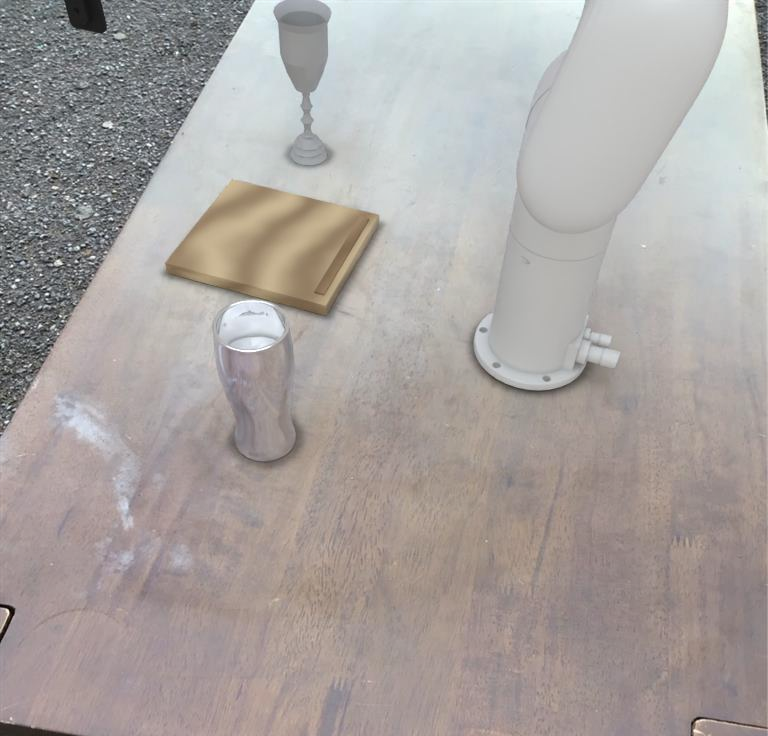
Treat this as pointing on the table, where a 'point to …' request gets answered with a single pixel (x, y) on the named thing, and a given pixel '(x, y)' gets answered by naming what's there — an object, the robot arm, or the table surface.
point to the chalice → (304, 64)
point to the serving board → (275, 246)
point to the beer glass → (257, 375)
